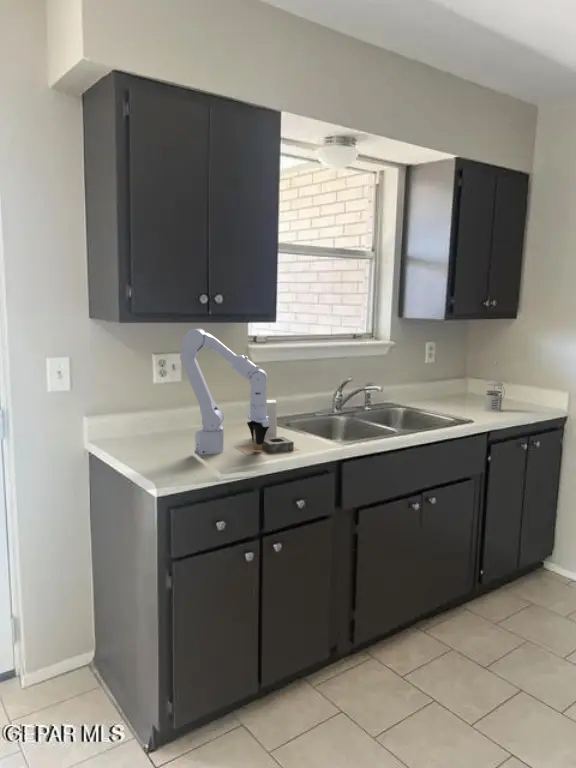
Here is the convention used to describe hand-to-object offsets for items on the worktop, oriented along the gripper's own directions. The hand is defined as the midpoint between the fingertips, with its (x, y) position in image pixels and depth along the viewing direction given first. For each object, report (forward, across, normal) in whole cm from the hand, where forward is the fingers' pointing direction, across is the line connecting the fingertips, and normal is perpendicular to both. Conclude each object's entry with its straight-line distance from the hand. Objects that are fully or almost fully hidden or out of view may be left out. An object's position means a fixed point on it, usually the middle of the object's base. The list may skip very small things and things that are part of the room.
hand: (257, 443), depth 205 cm
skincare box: (+5, +19, -11) cm, 22 cm away
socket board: (+4, +4, -5) cm, 8 cm away
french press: (+4, +37, -145) cm, 150 cm away
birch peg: (+2, 0, 0) cm, 2 cm away
